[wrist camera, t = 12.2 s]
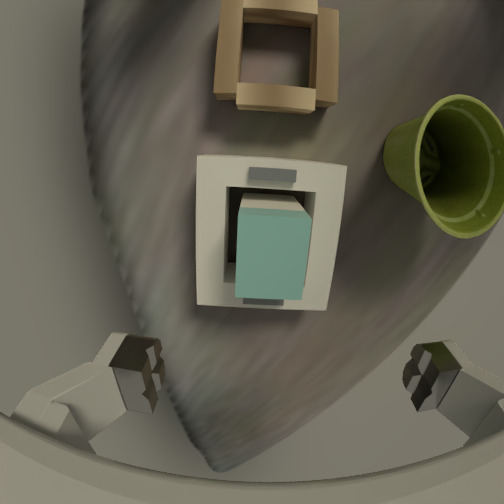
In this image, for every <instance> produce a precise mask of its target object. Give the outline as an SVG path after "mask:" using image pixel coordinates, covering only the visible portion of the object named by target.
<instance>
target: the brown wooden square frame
mask: <svg viewBox="0 0 504 504" xmlns="http://www.w3.org/2000/svg"><path fill="white" fill-rule="evenodd" d="M244 23H264V24H278V25H288V26H297V27H305V28H311V30H310V67H309V88H304V87H295V86H285V85H274V84H259V83H240V74H241V60H242V46H243V33H244ZM338 79H339V10H335V9H330V8H324V7H319V6H318V0H222V3H221V11H220V21H219V30H218V41H217V52H216V63H215V76H214V90H213V93H214V94H215V96H216V97H217V99H218V100H236V105H237V108H238V110H255V111H271V112H283V113H294V114H303V115H308V114H310V113H311V112H313V111H315V106H316V107H323V108H329V107H330V106H332V105H334V104H336V103H338Z"/></svg>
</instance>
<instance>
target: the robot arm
mask: <svg viewBox="0 0 504 504" xmlns="http://www.w3.org/2000/svg"><path fill="white" fill-rule="evenodd" d="M161 351H162V346H161V341H160V340H159V339H158V338H152V337H145V336H139V335H133V334H126V333H121V332H113V333H111V335H110V336H109V338H108V339H107V341H106V342H105V344H104V345H103V347H102V348H101V350H100V351H99V353H98V354H97V356H96V357H95V359H94V360H93V362H92V363H90V362H87V363H84V364H83V365H80V366H78V367H76V368H74V369H72V370H70V371H68V372H66V373H64V374H62V375H60V376H58V377H55V378H53V379H51V380H49V381H47V382H45V383H43V384H41V385H38V386H36V387H34V388H32V389H30V390H29V391H28V392H27V394H26V395H25V396H24V398H23V399H22V401H21V402H20V403H19V405H18V406H17V408H16V409H15V411H14V412H13V414H12V415H11V416H10V417H8V416H7V415H5V414H3V413H1V412H0V504H504V380H502V379H500V378H498V377H496V376H494V375H493V374H491V373H489V372H487V371H485V370H483V369H481V368H479V367H477V366H473V365H472V364H471V363H470V361H469V360H468V359H467V358H466V356H465V355H464V354H463V352H461V350H460V349H459V347H458V346H457V345H456V344H455V343H454V341H452V340H445V341H439V342H432V343H423V344H416V345H415V346H414V347H413V349H412V351H411V357H412V359H411V360H410V361H409V362H408V363H406V366H405V368H404V371H403V383H404V386H405V388H406V390H408V391H409V392H411V393H412V396H411V400H412V402H413V404H414V406H415V408H416V411H417V412H422V411H427V410H432V409H437V410H438V411H439V412H440V413H441V414H442V415H444V416H445V417H446V418H447V419H448V420H450V421H451V422H452V423H453V424H455V425H456V426H457V427H458V428H459V429H460V430H462V431H463V432H464V433H465V434H466V435H468V436H469V437H470V438H469V439H468V441H467V442H466V443H465V444H464V446H463V447H461V448H459V449H456V450H453V451H450V452H447V453H445V454H442V455H439V456H436V457H432V458H429V459H426V460H423V461H419V462H416V463H412V464H408V465H405V466H401V467H396V468H392V469H388V470H383V471H378V472H373V473H367V474H362V475H355V476H349V477H341V478H333V479H324V480H313V481H297V482H241V481H225V480H213V479H205V478H197V477H189V476H182V475H176V474H171V473H165V472H160V471H155V470H150V469H145V468H141V467H137V466H133V465H129V464H125V463H122V462H118V461H115V460H111V459H108V458H104V457H101V456H98V455H96V453H95V451H94V450H93V449H92V447H91V445H90V444H89V442H88V441H89V440H90V439H92V438H93V437H94V436H95V435H97V434H98V433H99V432H101V431H102V430H103V429H104V428H106V427H107V426H108V425H110V424H111V423H112V422H113V421H115V420H116V419H117V418H119V417H120V416H121V415H122V414H124V413H125V412H126V411H127V410H131V411H137V412H142V413H149V414H153V412H154V409H155V406H156V403H157V400H158V396H157V391H158V390H160V389H161V388H162V385H163V382H164V376H165V364H164V360H163V359H162V358H161V357H160V353H161Z"/></svg>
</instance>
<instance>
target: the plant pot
mask: <svg viewBox="0 0 504 504" xmlns="http://www.w3.org/2000/svg"><path fill="white" fill-rule="evenodd" d="M426 139H428V140H429V141H430V142H431V144H432V147H433V151H431V150H430V147H429V145H428V143H427V140H426ZM383 163H384V167H385V170H386V172H387V174H388V176H389V178H390V179H391V180H392V182H393V183H394V184H395V185H397V186H398V187H399V188H401V189H402V190H403V191H405V192H406V193H408V194H409V195H411V196H412V197H414V198H415V199H416V200H418V201H419V202H420V203H422V205H423V207H424V209H425V211H426V212H427V214H428V215H429V217H430V218H431V220H432V221H433V222H434V223H435V224H436V225H437V226H438V227H439V228H440V229H441V230H443V231H444V232H446V233H447V234H449V235H451V236H454V237H457V238H463V239H468V238H473V237H476V236H479V235H481V234H483V233H485V232H486V231H488V230H489V229H490V228H491V227H492V226H493V225H494V224H495V223H496V222H497V221H498V219H499V218H500V216H501V214H502V213H503V211H504V129H503V127H502V125H501V123H500V121H499V120H498V118H497V117H496V116H495V114H494V113H493V112H492V111H491V110H490V109H489V108H488V107H487V106H486V105H485V104H484V103H482V102H481V101H479V100H477V99H476V98H474V97H471V96H467V95H461V94H457V95H451V96H447V97H445V98H442V99H441V100H439V101H438V102H436V103H435V104H434V105H433V106H432V107H431V108H430V109H429V110H428V111H427V113H426V114H425V115H423V116H421V117H418V118H416V119H414V120H411V121H409V122H406V123H403V124H401V125H398V126H397V127H395V128H394V129H393V130H392V131H391V132H390V133H389V134H388V136H387V138H386V140H385V146H384V152H383ZM428 174H429V178H428V179H427V180H426V181H425V182H424V183H421V180H422V179H424V178H425V177H426V176H427V175H428Z"/></svg>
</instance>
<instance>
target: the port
mask: <svg viewBox="0 0 504 504" xmlns="http://www.w3.org/2000/svg"><path fill="white" fill-rule="evenodd" d="M346 172H347V166H343V165H339V164H334V163H328V162H319V161H309V160H299V159H288V158H275V157H260V156H241V155H211V154H206V155H199V156H197V177H196V285H197V305H211V306H226V307H243V308H264V309H290V310H326V308H327V303H328V298H329V292H330V287H331V281H332V276H333V270H334V264H335V258H336V251H337V245H338V238H339V231H340V224H341V216H342V208H343V200H344V191H345V182H346ZM230 187H251V188H267V189H282V190H295V191H305V200H304V210H305V211H306V212H307V213H308V215H309V216H310V217H311V218H312V223H311V232H310V241H309V249H308V257H307V265H306V272H305V280H304V287H303V294H302V300H282V299H258V298H238V297H235V283H236V263H231V262H228V236H229V208H230Z"/></svg>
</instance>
